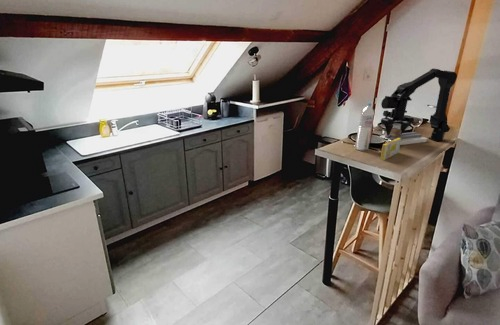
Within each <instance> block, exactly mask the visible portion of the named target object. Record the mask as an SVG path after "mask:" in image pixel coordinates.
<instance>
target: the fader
mask: <svg viewBox="0 0 500 325" xmlns="http://www.w3.org/2000/svg"><path fill="white" fill-rule="evenodd" d="M401 131H402V130H400V129H399V128H397V127H393V128H392V130H391V132H390V134H389V135H392V137H396V136H400V135H401Z"/></svg>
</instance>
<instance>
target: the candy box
mask: <svg viewBox="0 0 500 325" xmlns="http://www.w3.org/2000/svg"><path fill="white" fill-rule="evenodd" d="M400 143H401V138H397V139H394V140H392V141H390V142H387V143H386V142H384V143H383V144H382V147H381V152H380V153H381V154H380V160H381V161H385V160H387V159H389V158H392V157H393V156H395V155H397V154H400V153H399V152H400V148H401V145H400Z"/></svg>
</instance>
